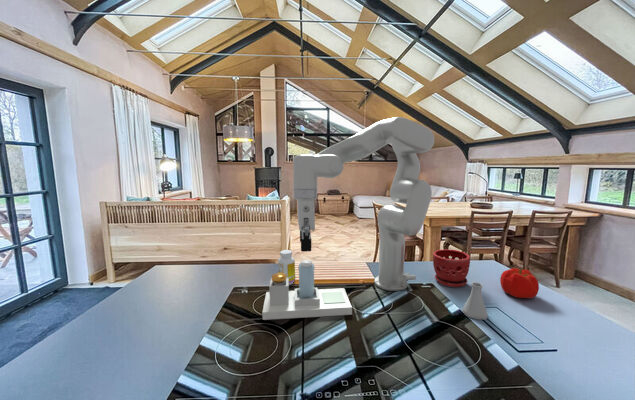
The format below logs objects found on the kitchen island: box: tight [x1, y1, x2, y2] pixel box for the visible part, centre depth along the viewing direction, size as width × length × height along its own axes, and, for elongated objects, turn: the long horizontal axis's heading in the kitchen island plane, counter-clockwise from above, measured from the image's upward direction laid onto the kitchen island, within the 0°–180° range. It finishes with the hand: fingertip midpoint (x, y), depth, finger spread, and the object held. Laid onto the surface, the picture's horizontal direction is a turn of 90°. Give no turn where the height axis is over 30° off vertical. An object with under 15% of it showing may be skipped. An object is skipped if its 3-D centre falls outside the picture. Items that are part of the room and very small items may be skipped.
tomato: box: [499, 267, 540, 299], centre depth 97 cm, size 11×12×9 cm
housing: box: [261, 278, 353, 321], centre depth 89 cm, size 28×13×9 cm, turn 95°
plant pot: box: [432, 248, 471, 288], centre depth 106 cm, size 13×13×12 cm
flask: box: [461, 281, 488, 320], centre depth 84 cm, size 7×7×10 cm
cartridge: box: [298, 259, 315, 299], centre depth 89 cm, size 5×5×13 cm
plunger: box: [271, 272, 287, 285], centre depth 88 cm, size 5×5×8 cm
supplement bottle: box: [277, 249, 296, 286], centre depth 107 cm, size 7×7×13 cm
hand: (305, 246), depth 87 cm, fingers open, 9 cm apart
